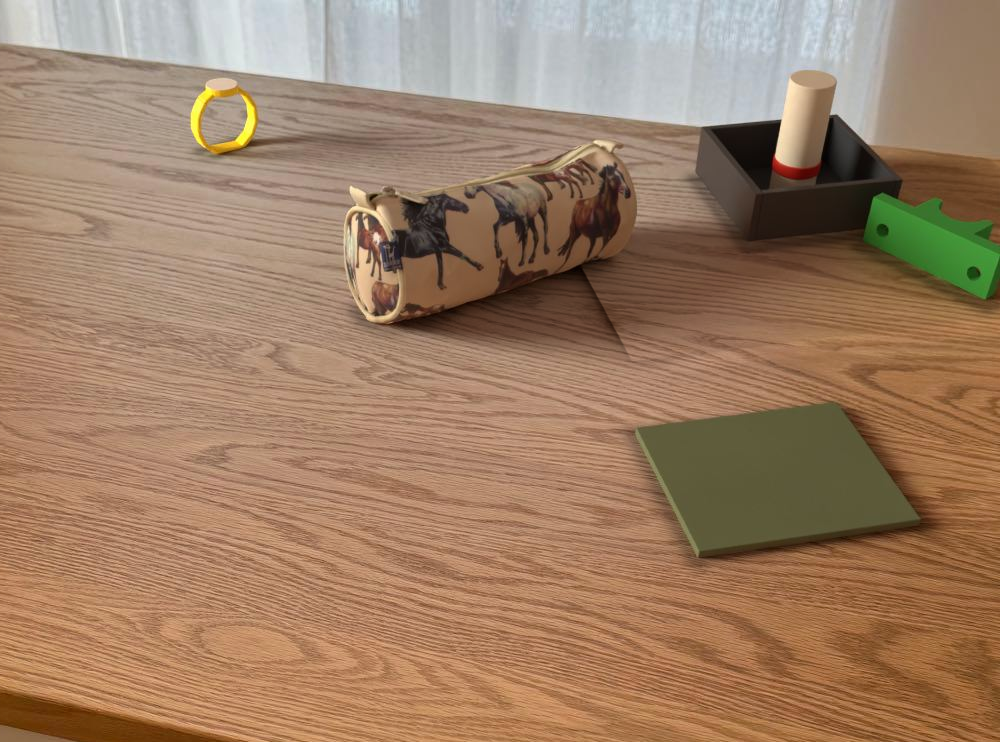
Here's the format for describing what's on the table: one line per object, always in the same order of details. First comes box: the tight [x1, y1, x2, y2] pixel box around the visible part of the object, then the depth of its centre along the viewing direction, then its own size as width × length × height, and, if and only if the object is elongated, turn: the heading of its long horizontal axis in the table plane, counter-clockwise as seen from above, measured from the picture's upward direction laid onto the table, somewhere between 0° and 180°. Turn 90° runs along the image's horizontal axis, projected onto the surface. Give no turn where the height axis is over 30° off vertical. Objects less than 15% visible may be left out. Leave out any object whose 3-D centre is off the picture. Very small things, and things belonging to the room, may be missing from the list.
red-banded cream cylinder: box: [769, 69, 838, 189], centre depth 100 cm, size 4×4×10 cm
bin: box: [695, 114, 904, 242], centre depth 102 cm, size 12×12×5 cm
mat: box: [634, 401, 922, 559], centre depth 77 cm, size 14×12×1 cm
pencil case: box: [343, 139, 638, 325], centre depth 91 cm, size 22×8×10 cm, turn 120°
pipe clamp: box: [862, 193, 1000, 301], centre depth 95 cm, size 11×4×5 cm, turn 39°
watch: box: [190, 77, 259, 155], centre depth 109 cm, size 6×3×6 cm, turn 127°
